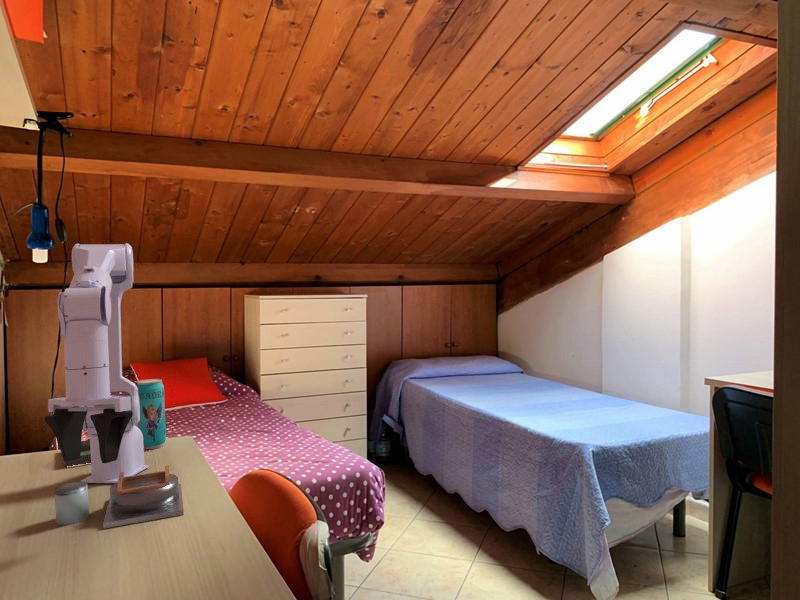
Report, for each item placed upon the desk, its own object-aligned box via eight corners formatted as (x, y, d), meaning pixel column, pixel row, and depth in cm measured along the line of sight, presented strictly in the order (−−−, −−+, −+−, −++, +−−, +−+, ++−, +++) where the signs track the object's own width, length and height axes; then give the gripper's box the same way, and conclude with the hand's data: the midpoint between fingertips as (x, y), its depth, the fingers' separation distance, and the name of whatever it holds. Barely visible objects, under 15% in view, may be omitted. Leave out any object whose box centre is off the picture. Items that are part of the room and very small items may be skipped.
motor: (110, 499, 94) (109, 468, 94) (180, 488, 99) (179, 458, 98) (103, 528, 82) (101, 492, 82) (183, 514, 87) (182, 480, 87)
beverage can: (141, 452, 122) (138, 383, 122) (136, 446, 127) (133, 380, 127) (169, 447, 126) (166, 380, 126) (162, 442, 130) (160, 377, 130)
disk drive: (65, 454, 125) (66, 470, 113) (64, 442, 125) (65, 457, 113) (117, 446, 131) (123, 461, 118) (116, 434, 131) (122, 447, 118)
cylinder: (58, 516, 88) (57, 484, 88) (90, 511, 89) (89, 480, 89) (53, 527, 84) (52, 493, 84) (87, 521, 85) (85, 488, 85)
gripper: (27, 372, 82) (29, 466, 81) (99, 369, 77) (103, 469, 76) (71, 367, 89) (74, 454, 88) (140, 364, 83) (144, 457, 83)
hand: (90, 460), depth 82 cm, fingers open, 7 cm apart
